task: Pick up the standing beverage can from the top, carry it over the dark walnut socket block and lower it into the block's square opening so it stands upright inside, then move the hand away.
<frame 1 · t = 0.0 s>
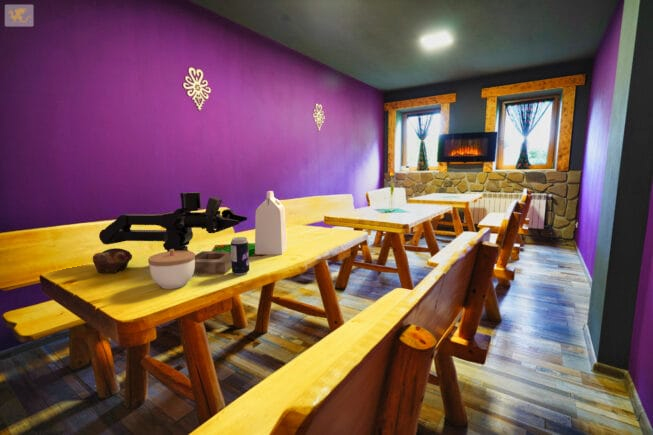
hand: (243, 220, 110), 17 cm above the table, tool horizontal, fingers open, 9 cm apart
socket: (213, 267, 109), on the table
decorative turtle: (114, 270, 105), on the table
beverage can: (240, 273, 102), on the table
milk: (271, 251, 132), on the table
lidded bowl: (174, 285, 92), on the table
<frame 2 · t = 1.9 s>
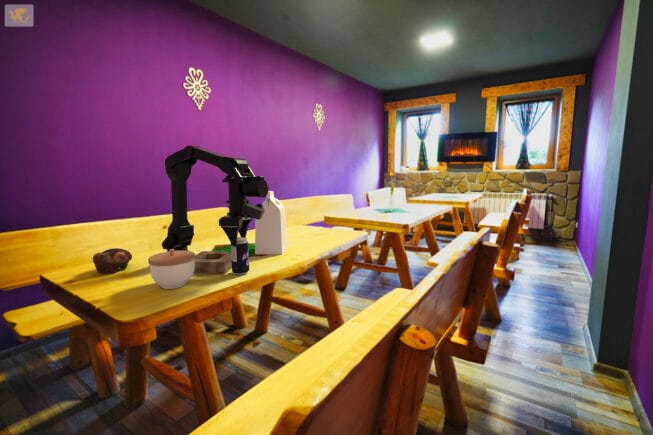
hand: (239, 243, 101), 10 cm above the table, tool pointing down, fingers open, 9 cm apart
nothing on the table moved.
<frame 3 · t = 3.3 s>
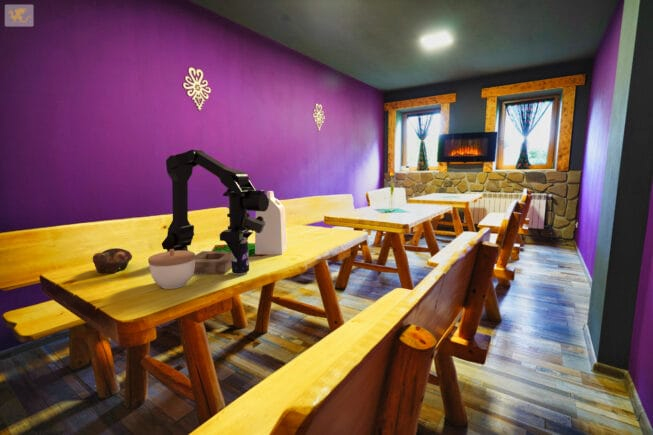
hand: (240, 255, 101), 6 cm above the table, tool pointing down, fingers closed on beverage can, 6 cm apart
beverage can: (240, 273, 102), on the table, touching gripper
everything else where it was.
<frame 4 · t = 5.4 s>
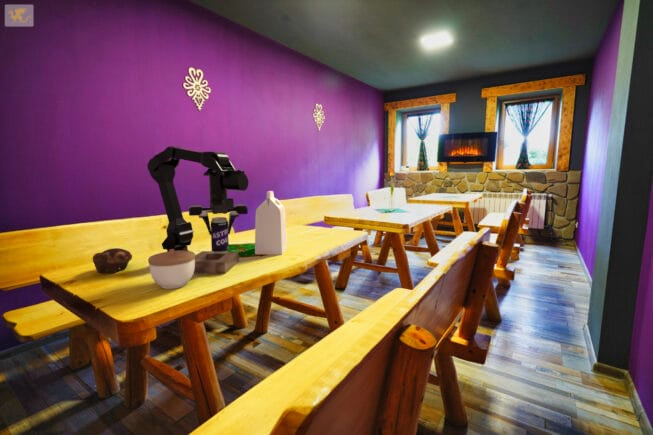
hand: (219, 234, 105), 13 cm above the table, tool pointing down, fingers closed on beverage can, 6 cm apart
beverage can: (220, 252, 106), point 6 cm above the table, touching gripper
everything else where it was.
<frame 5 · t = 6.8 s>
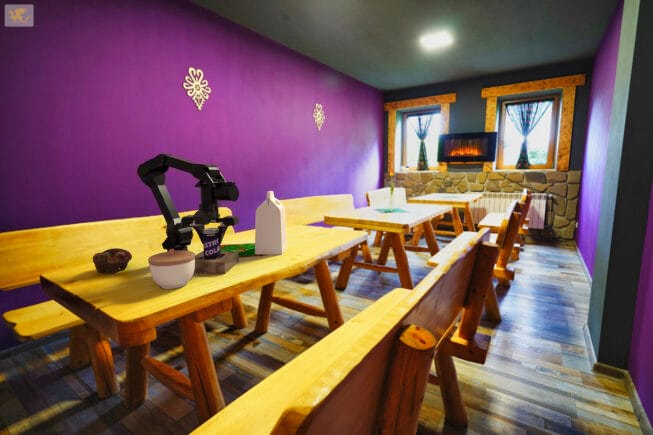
hand: (211, 244, 107), 9 cm above the table, tool pointing down, fingers closed on beverage can, 6 cm apart
beverage can: (212, 262, 108), point 2 cm above the table, touching gripper
everything else where it was.
when the fingers open (7 cm above the table, at t = 7.9 s): beverage can stays where it is, resting in socket.
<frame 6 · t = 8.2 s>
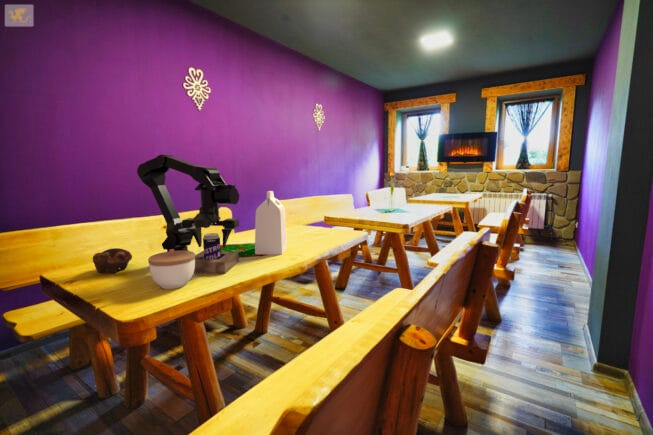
hand: (212, 246, 108), 7 cm above the table, tool pointing down, fingers open, 8 cm apart
beverage can: (213, 267, 109), resting in socket
everything else where it was.
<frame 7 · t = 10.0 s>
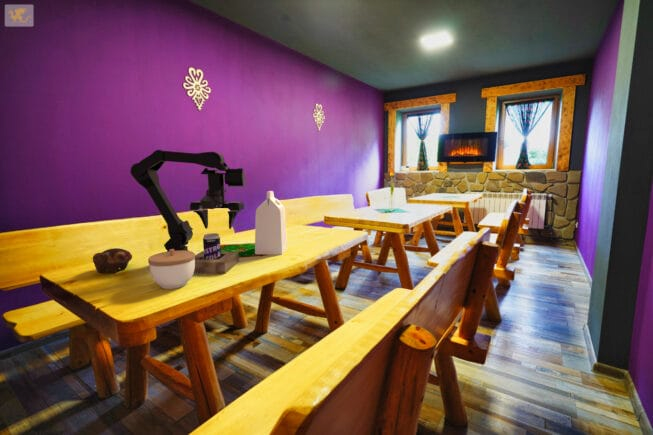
hand: (218, 228, 113), 13 cm above the table, tool pointing down, fingers open, 9 cm apart
nothing on the table moved.
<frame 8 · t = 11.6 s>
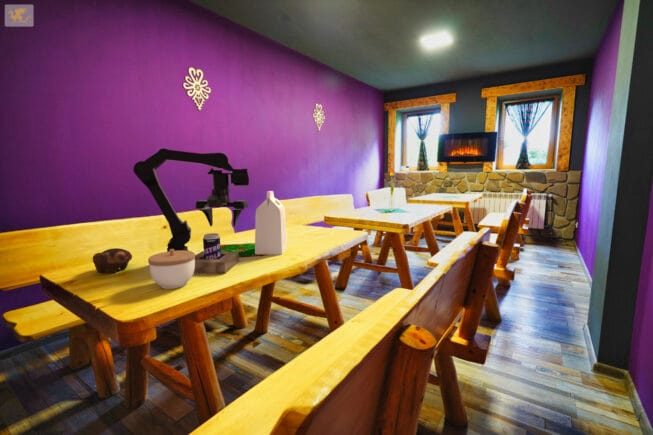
hand: (222, 226, 118), 13 cm above the table, tool pointing down, fingers open, 9 cm apart
nothing on the table moved.
at the end: beverage can 0.1 cm off-centre on the socket, point 0.0 cm above the socket's base; beverage can tilted 0°; the gripper is holding nothing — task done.
